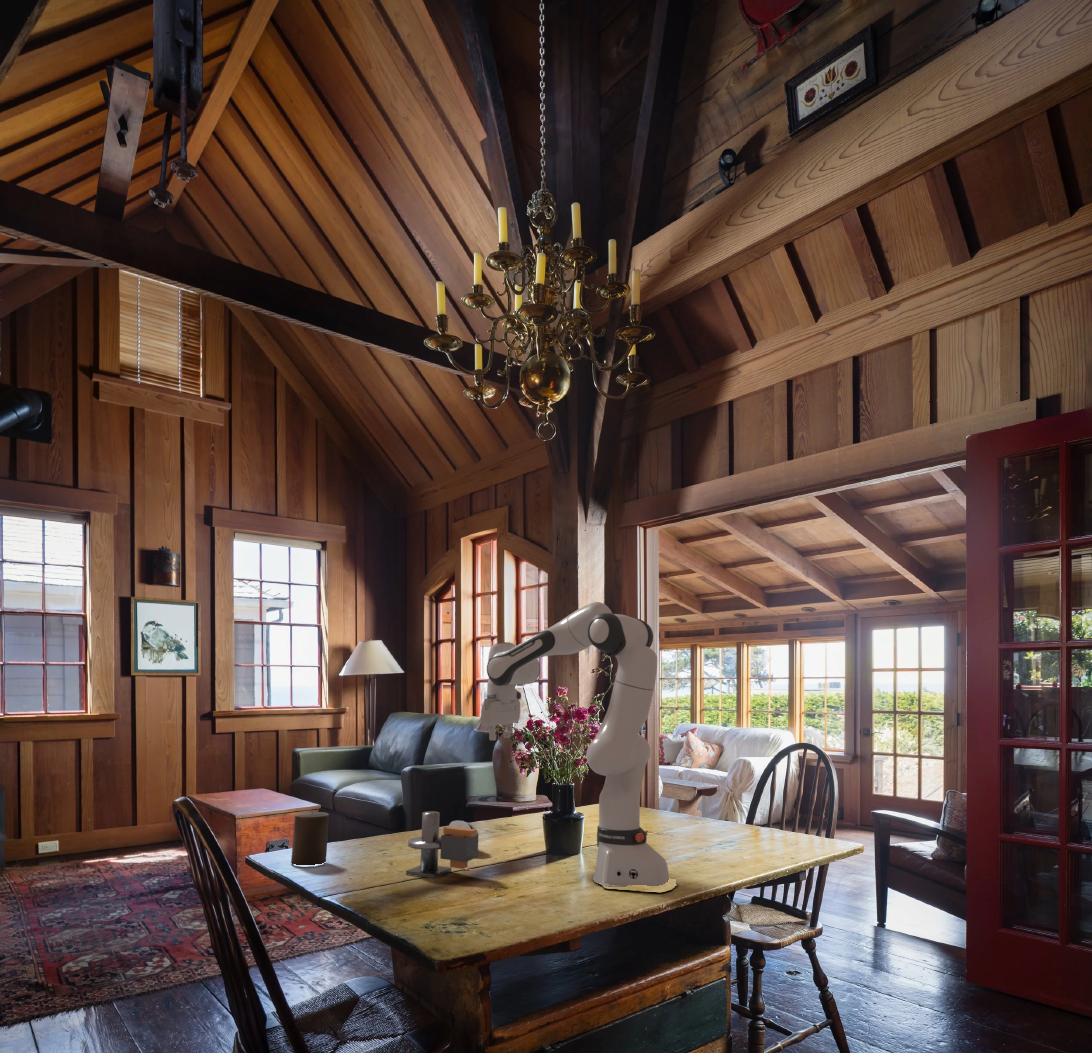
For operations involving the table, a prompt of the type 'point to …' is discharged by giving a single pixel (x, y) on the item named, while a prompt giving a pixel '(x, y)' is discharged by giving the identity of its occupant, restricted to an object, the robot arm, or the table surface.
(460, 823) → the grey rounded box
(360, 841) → the table surface
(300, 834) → the pillar candle
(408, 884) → the table surface
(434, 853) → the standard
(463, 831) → the orange t-shaped block
